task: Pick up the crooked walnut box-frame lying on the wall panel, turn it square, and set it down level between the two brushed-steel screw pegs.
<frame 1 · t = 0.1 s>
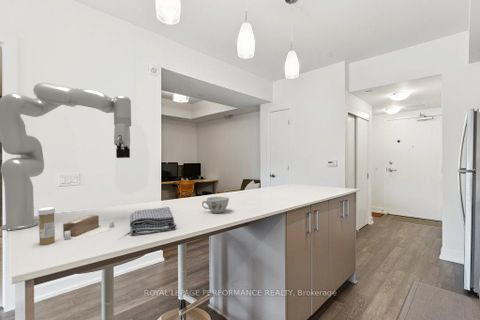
hand: (123, 157, 115), 31 cm above the counter, tool pointing down, fingers open, 9 cm apart
frame: (82, 231, 98), point 1 cm above the counter, touching panel
teacup: (215, 212, 132), on the counter
pill bottle: (47, 245, 85), on the counter
towel: (152, 229, 104), on the counter
panel: (87, 233, 97), on the counter
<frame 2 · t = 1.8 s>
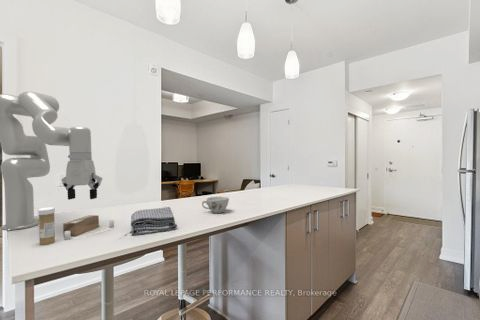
hand: (82, 198, 97), 14 cm above the counter, tool pointing down, fingers open, 9 cm apart
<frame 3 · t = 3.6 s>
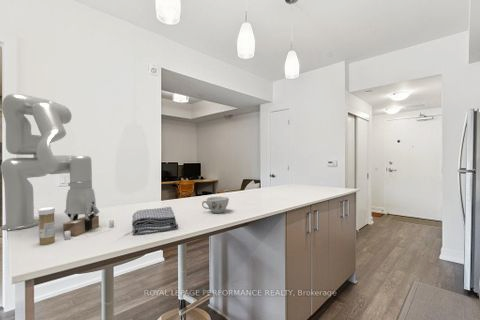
hand: (82, 229, 98), 2 cm above the counter, tool pointing down, fingers closed on frame, 5 cm apart
frame: (82, 231, 98), point 1 cm above the counter, touching gripper, panel
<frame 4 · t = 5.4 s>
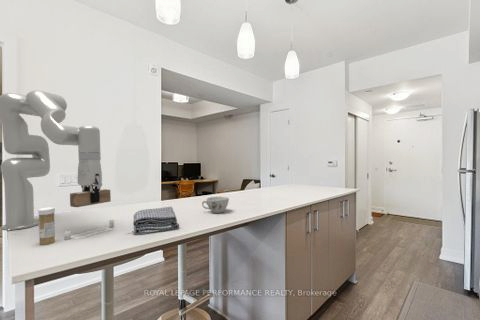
hand: (91, 201, 96), 14 cm above the counter, tool pointing down, fingers closed on frame, 5 cm apart
frame: (91, 203, 96), point 13 cm above the counter, touching gripper
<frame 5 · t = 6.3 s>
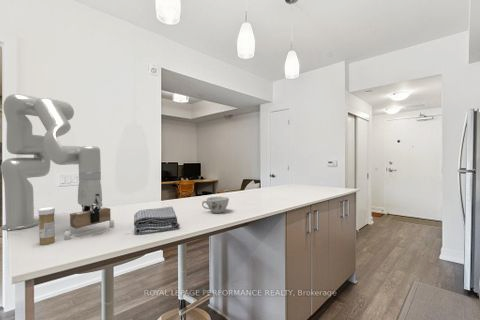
hand: (91, 220, 96), 6 cm above the counter, tool pointing down, fingers closed on frame, 5 cm apart
frame: (91, 223, 96), point 5 cm above the counter, touching gripper
when the fingers open (3 cm above the counter, at t = 7.2 s): frame stays where it is, resting on panel.
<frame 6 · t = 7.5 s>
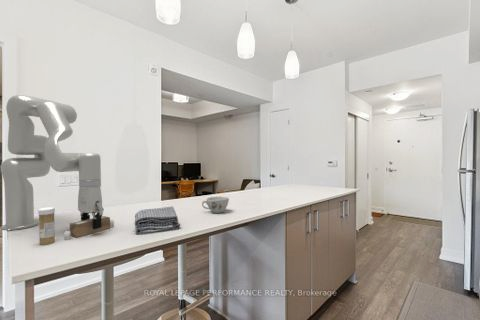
hand: (91, 226, 96), 3 cm above the counter, tool pointing down, fingers open, 8 cm apart
frame: (90, 232, 96), point 1 cm above the counter, touching panel
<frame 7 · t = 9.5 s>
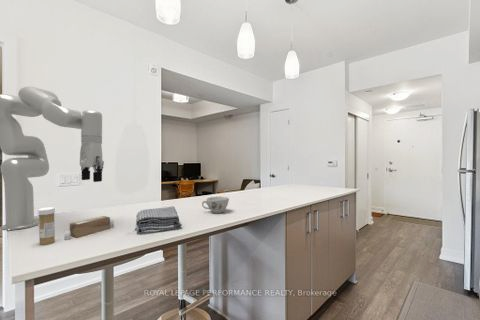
hand: (91, 180, 100), 22 cm above the counter, tool pointing down, fingers open, 9 cm apart
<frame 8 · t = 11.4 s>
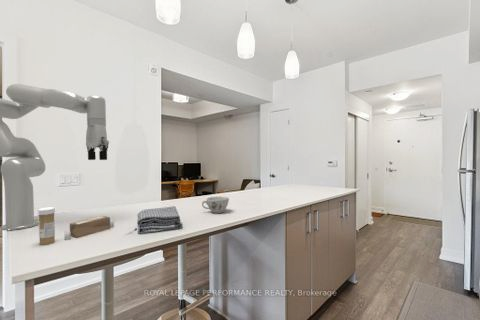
hand: (97, 159, 111), 30 cm above the counter, tool pointing down, fingers open, 9 cm apart
at the end: frame 0.3 cm from the target spot, point 0.9 cm above the counter; frame tilted 0°; the gripper is holding nothing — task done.
